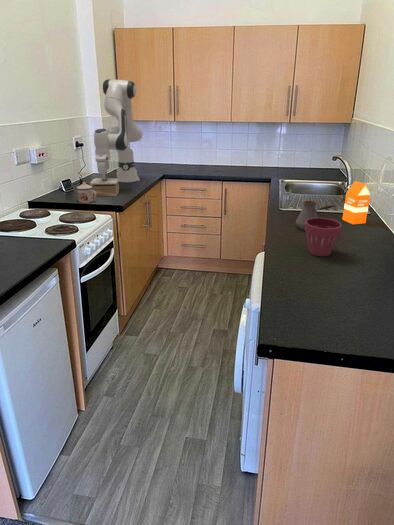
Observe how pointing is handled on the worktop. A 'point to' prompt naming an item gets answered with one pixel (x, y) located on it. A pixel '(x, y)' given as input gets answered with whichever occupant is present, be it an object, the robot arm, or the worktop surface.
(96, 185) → the box
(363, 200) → the orange juice
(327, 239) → the plant pot
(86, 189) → the teacup with lid
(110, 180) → the lid
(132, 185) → the worktop surface
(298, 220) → the coffee pot
